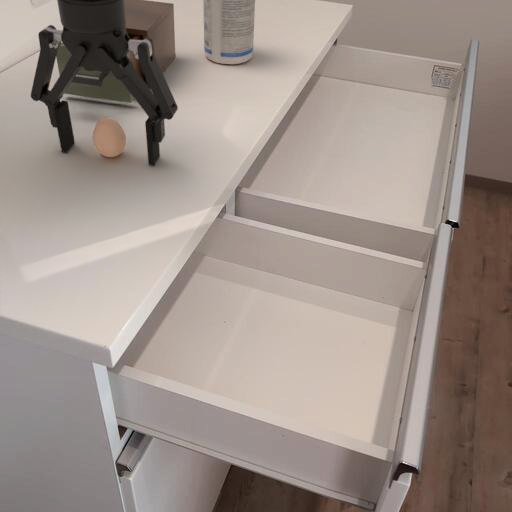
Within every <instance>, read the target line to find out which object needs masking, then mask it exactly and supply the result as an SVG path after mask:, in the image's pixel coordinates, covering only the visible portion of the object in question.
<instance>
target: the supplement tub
mask: <svg viewBox="0 0 512 512" xmlns="http://www.w3.org/2000/svg"><path fill="white" fill-rule="evenodd" d="M202 1H203V2H202V3H203V5H202V6H203V7H202V8H203V49H204V55H205V57H206V58H207V59H208V60H210V61H212V62H214V63H216V64H222V65H238V64H244V63H246V62H247V61H249V60H251V58H252V57H253V56H254V37H255V15H256V14H255V12H256V10H255V9H256V8H255V7H256V0H202Z"/></svg>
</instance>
